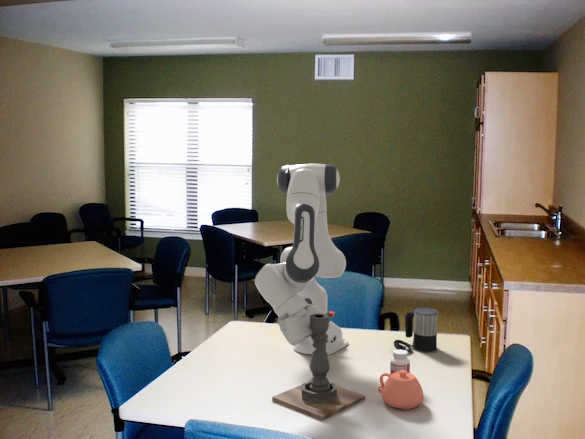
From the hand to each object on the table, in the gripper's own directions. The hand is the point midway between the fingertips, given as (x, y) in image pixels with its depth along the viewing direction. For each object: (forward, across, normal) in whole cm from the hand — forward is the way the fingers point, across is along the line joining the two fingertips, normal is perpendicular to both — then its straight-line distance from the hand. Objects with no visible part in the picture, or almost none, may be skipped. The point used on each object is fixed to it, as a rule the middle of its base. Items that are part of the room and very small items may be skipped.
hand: (321, 346), depth 186 cm
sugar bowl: (+27, +10, -3) cm, 29 cm away
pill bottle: (+24, +23, 0) cm, 33 cm away
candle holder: (+11, 0, +11) cm, 16 cm away
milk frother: (+20, +59, +4) cm, 62 cm away
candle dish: (+12, 0, +12) cm, 17 cm away
